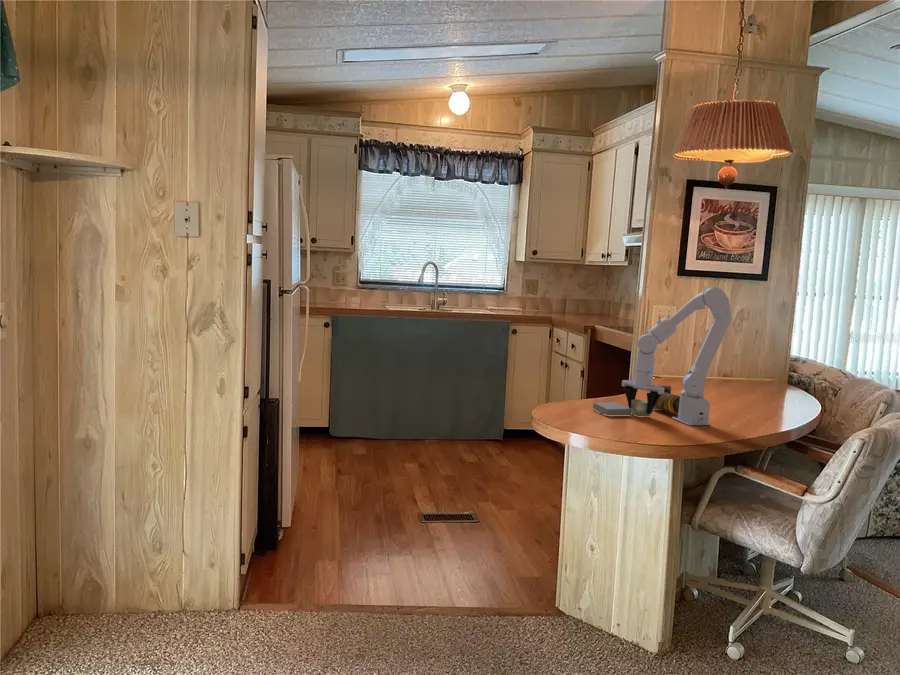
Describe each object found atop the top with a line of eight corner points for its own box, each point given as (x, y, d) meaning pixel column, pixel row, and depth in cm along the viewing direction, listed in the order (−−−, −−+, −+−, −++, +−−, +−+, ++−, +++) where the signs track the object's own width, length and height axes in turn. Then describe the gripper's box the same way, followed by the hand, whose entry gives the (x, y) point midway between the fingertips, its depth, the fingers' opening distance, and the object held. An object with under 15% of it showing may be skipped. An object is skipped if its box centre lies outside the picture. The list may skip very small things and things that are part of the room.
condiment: (651, 409, 234) (671, 415, 223) (652, 385, 234) (673, 390, 222) (669, 409, 236) (690, 415, 225) (670, 385, 236) (692, 390, 224)
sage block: (649, 417, 223) (651, 402, 222) (637, 417, 222) (639, 402, 221) (641, 413, 227) (643, 399, 227) (630, 414, 226) (631, 399, 225)
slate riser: (630, 417, 222) (631, 408, 222) (606, 418, 219) (607, 409, 219) (616, 411, 231) (616, 402, 230) (592, 411, 228) (593, 402, 228)
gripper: (670, 373, 220) (666, 414, 222) (631, 366, 230) (627, 405, 232) (659, 375, 215) (655, 417, 217) (619, 368, 225) (616, 407, 227)
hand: (640, 411), depth 224 cm, fingers closed on sage block, 6 cm apart
